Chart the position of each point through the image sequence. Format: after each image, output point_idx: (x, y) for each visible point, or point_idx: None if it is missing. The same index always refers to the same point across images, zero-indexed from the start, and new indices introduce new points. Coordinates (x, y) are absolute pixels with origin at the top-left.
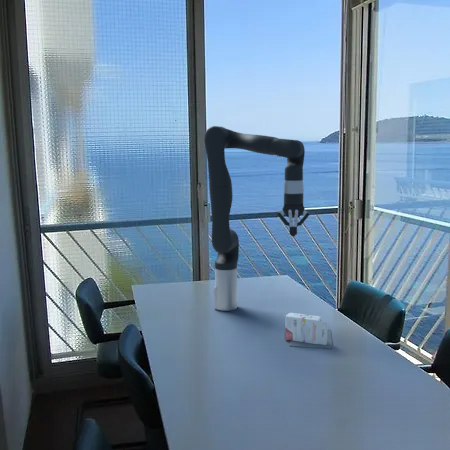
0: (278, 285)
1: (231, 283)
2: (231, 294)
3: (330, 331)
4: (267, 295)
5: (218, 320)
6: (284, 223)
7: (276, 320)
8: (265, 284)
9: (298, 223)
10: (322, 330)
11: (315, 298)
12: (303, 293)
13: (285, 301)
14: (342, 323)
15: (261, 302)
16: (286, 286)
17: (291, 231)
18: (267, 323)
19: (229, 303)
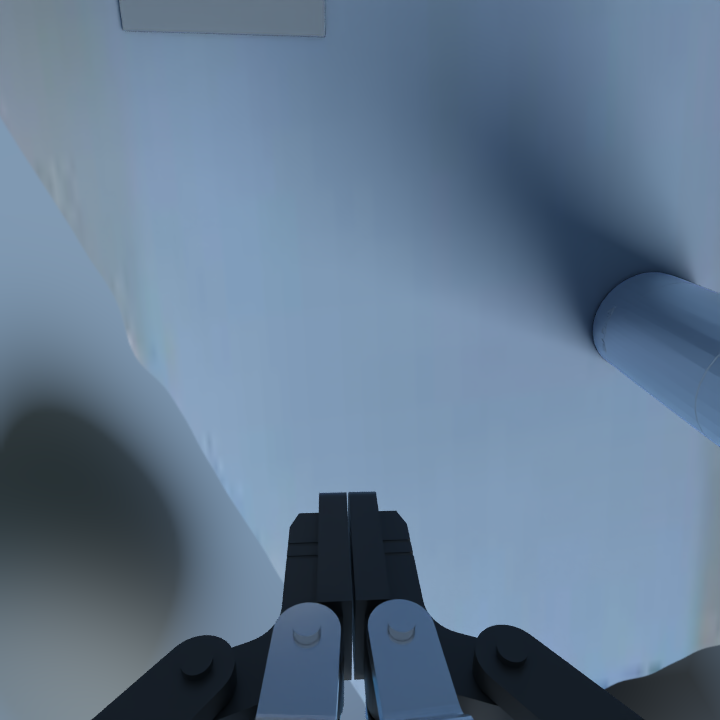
0: None
1: (709, 324)
2: (668, 304)
3: (121, 2)
4: (455, 509)
5: (690, 127)
6: (557, 659)
7: (407, 165)
8: None
9: (237, 693)
10: (165, 14)
11: (244, 500)
12: None
13: (374, 444)
14: (80, 161)
15: (481, 416)
16: None
17: (379, 537)
18: (451, 111)
19: (651, 285)
